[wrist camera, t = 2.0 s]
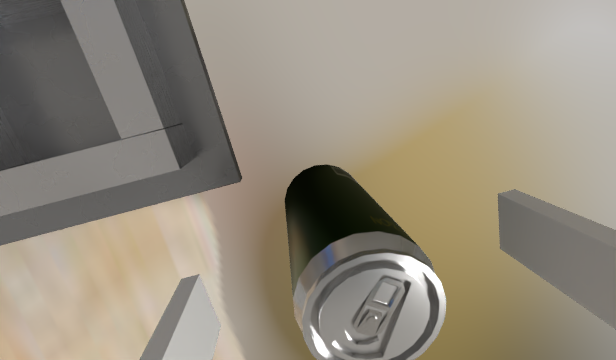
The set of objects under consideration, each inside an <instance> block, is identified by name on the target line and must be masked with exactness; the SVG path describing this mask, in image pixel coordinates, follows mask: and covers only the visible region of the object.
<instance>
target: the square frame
mask: <svg viewBox="0 0 616 360" xmlns="http://www.w3.org/2000/svg"><path fill="white" fill-rule="evenodd" d="M241 179H242V176H241V173H240V170H239V167H238V164H237V161H236V158H235V155H234V152H233V148H232V146H231V142H230V139H229V136H228V133H227V130H226V127H225V124H224V121H223V118H222V115H221V112H220V109H219V106H218V103H217V100H216V97H215V93H214V90H213V87H212V85H211V81H210V78H209V75H208V72H207V69H206V66H205V63H204V60H203V57H202V54H201V51H200V48H199V45H198V41H197V38H196V35H195V32H194V29H193V26H192V23H191V20H190V17H189V14H188V11H187V8H186V5H185V2H184V0H0V245H4V244H7V243H11V242H15V241H19V240H23V239H26V238H30V237H34V236H38V235H41V234H45V233H49V232H53V231H57V230H60V229H64V228H68V227H72V226H75V225H79V224H83V223H87V222H90V221H94V220H98V219H102V218H106V217H109V216H113V215H117V214H121V213H124V212H128V211H132V210H136V209H139V208H143V207H147V206H151V205H155V204H158V203H162V202H166V201H170V200H173V199H177V198H181V197H185V196H189V195H192V194H196V193H200V192H204V191H207V190H211V189H215V188H219V187H222V186H226V185H230V184H234V183H237V182H240V181H241Z"/></svg>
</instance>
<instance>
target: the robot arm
mask: <svg viewBox="0 0 616 360" xmlns="http://www.w3.org/2000/svg"><path fill="white" fill-rule="evenodd" d="M498 211H499V235H500V249H501V250H503V251H504V252H506V253H507V254H509V255H510V256H511V257H513V258H514V259H516V260H517V261H519V262H520V263H522V264H523V265H524V266H526V267H527V268H529V269H530V270H532V271H533V272H534V273H536V274H537V275H539V276H540V277H542V278H543V279H544V280H546V281H547V282H549V283H550V284H552V285H553V286H554V287H556V288H557V289H559V290H560V291H562V292H563V293H564V294H566V295H567V296H569V297H570V298H571V299H573V300H574V301H576V302H577V303H579V304H580V305H582V306H583V307H584V308H586V309H587V310H589V311H590V312H592V313H593V314H594V315H596V316H597V317H599V318H600V319H601V320H603V321H604V322H606V323H607V324H609V325H610V326H612V327H613V328H614V329H616V230H614V229H612V228H609V227H607V226H604V225H601V224H599V223H596V222H594V221H592V220H589V219H587V218H584V217H582V216H579V215H577V214H574V213H572V212H569V211H567V210H565V209H562V208H560V207H557V206H555V205H552V204H550V203H547V202H545V201H542V200H540V199H538V198H535V197H533V196H530V195H528V194H525V193H523V192H520V191H518V190H515V189H514V190H511V191H507V192H503V193H499V194H498ZM220 327H221V324H220V322H219V319H218V317H217V315H216V312H215V310H214V307H213V305H212V303H211V300H210V298H209V296H208V293H207V291H206V289H205V286H204V284H203V282H202V279H201V277H200V274H198V275H195V276H191V277H187V278H184V279H181V281H180V283H179V285H178V287H177V289H176V291H175V292H174V294H173V296H172V298H171V300H170V302H169V304H168V306H167V308H166V310H165V312H164V314H163V316H162V317H161V319H160V321H159V323H158V325H157V327H156V329H155V331H154V333H153V335H152V337H151V339H150V341H149V342H148V344H147V346H146V348H145V350H144V352H143V354H142V356H141V358H140V360H212V359H213V355H214V351H215V347H216V343H217V339H218V335H219V331H220Z"/></svg>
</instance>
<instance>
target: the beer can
mask: <svg viewBox="0 0 616 360" xmlns="http://www.w3.org/2000/svg"><path fill="white" fill-rule="evenodd" d="M285 209H286V221H287V233H288V244H289V256H290V268H291V280H292V290H293V302H294V313H295V319H296V321H297V323H298V325H299V327H300V329H301V330H302V332H303V336H304V340H305V342H306V344H307V346H308V348H309V350H310V351H311V353H312V355H313V356H314V357H315V358H316V359H318V360H414V359H416V358H417V357H418V356H420V355H421V354H423V353H424V352H425V351H426V349H427V348H428V347H429V346H430V344H431V343H432V342H433V341H434V340H435V338H436V337H437V335H438V333H439V330H440V328H441V326H442V324H443V321H444V319H445V310H446V297H445V294H444V290H443V287H442V284H441V281H440V280H439V279H438V278H437V277H436V275H435V272H434V270H433V266H432V263H431V261H430V259H429V258H428V257H427V256H426V254H425V253H424V252H423V251H422V250H421V248H420V247H419V246H418V245H417V244H416V243H415V242H414V241H413V240H412V239H411V238H410V237H409V236H408V234H406V232H404V230H403V229H402V228H401V227H400V226H399V225H398V224H397V223H396V222H395V221H394V220H393V219H392V218H391V217H390V216H389V215H388V214H387V213H386V212H385V211H384V210H383V208H382V207H381V206H379V205H378V203H377V202H376V201H375V200H374V199H373V198H372V197H371V196H370V195H369V194H368V193H367V192H366V191H365V190H364V189H363V188H362V187H361V186H360V185H359V184H358V183H357V181H356V180H355V179H354V178H353V177H352V176H351V175H350V174H349V173H347V172H346V171H344V170H342V169H341V168H339V167H335V166H330V165H316V166H313V167H311V168H308V169H306V170H303V171H302V172H301V173H300V174H298V175H297V176H296V177H295V178H294V179H293V181H292V182H291V184H290V186H289V187H288V189H287V193H286V197H285Z"/></svg>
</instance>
